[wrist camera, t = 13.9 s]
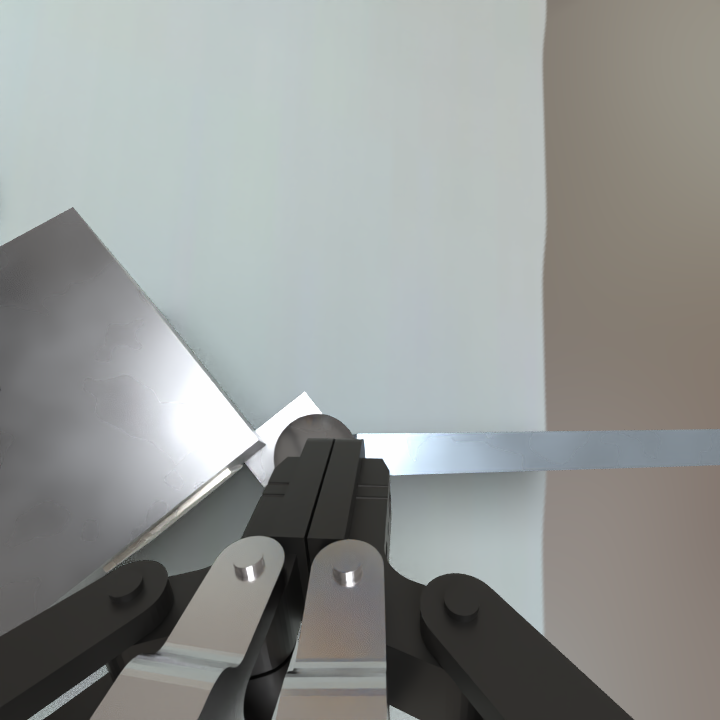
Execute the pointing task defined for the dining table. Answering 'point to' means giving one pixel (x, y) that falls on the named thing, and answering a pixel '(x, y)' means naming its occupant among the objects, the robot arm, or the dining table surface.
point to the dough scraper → (511, 448)
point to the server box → (100, 419)
